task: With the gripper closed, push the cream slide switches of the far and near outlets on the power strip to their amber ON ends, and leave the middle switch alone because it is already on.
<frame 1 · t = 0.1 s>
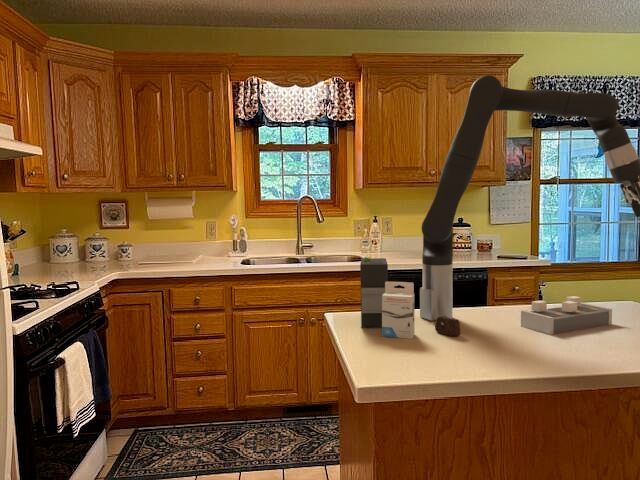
stone: (448, 335, 137), on the table
ink box: (398, 336, 136), on the table
switch 2: (569, 306, 142), point 6 cm above the table, slide at 4.5 cm
switch 3: (573, 301, 149), point 6 cm above the table, slide at 0.0 cm
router: (374, 322, 153), on the table
switch 1: (539, 306, 143), point 6 cm above the table, slide at 0.0 cm
power strip: (566, 325, 143), on the table
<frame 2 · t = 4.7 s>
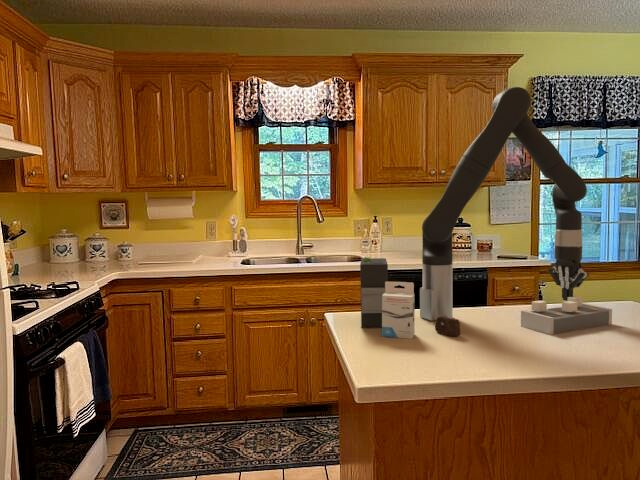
hand: (567, 300, 151), 6 cm above the table, tool pointing down, fingers closed
switch 3: (574, 301, 148), point 6 cm above the table, slide at 0.5 cm, touching gripper
everything else where it was.
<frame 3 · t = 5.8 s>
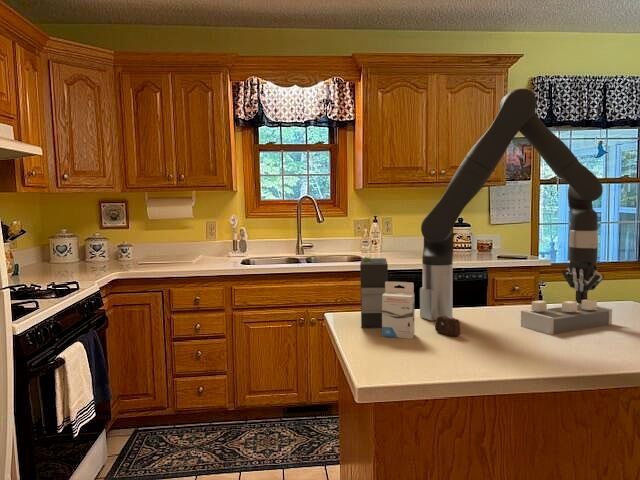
hand: (581, 303, 147), 6 cm above the table, tool pointing down, fingers closed
switch 3: (589, 304, 144), point 6 cm above the table, slide at 5.3 cm, touching gripper
everything else where it was.
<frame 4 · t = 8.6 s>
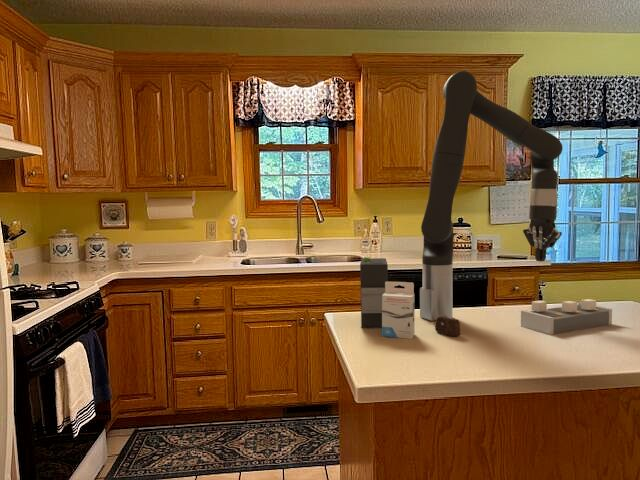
hand: (540, 261, 150), 18 cm above the table, tool pointing down, fingers closed
switch 3: (588, 304, 144), point 6 cm above the table, slide at 5.1 cm
everything else where it was.
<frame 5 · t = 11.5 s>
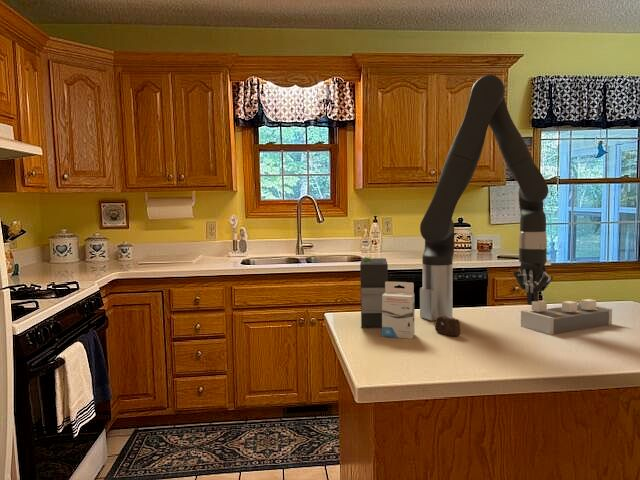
hand: (532, 304, 146), 6 cm above the table, tool pointing down, fingers closed
switch 1: (539, 306, 143), point 6 cm above the table, slide at 0.1 cm, touching gripper
everything else where it was.
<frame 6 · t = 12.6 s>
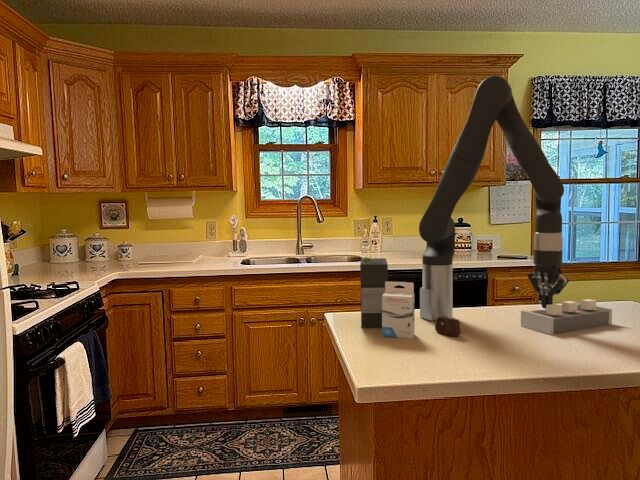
hand: (546, 308, 141), 6 cm above the table, tool pointing down, fingers closed
switch 1: (554, 309, 139), point 6 cm above the table, slide at 5.3 cm, touching gripper
everything else where it was.
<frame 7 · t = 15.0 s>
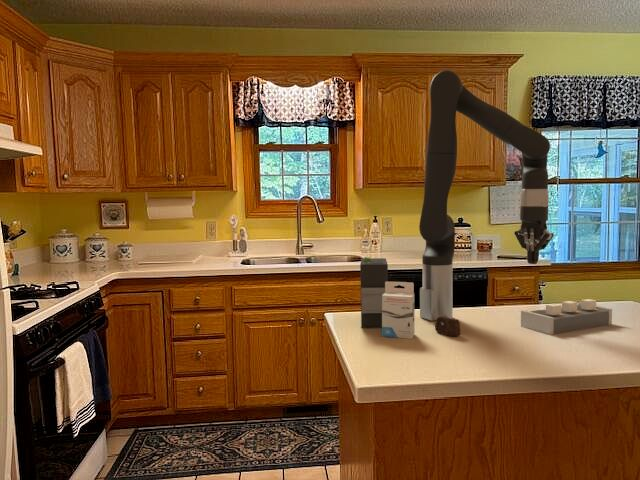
hand: (532, 263, 145), 18 cm above the table, tool pointing down, fingers closed
switch 1: (553, 309, 139), point 6 cm above the table, slide at 5.1 cm
everything else where it was.
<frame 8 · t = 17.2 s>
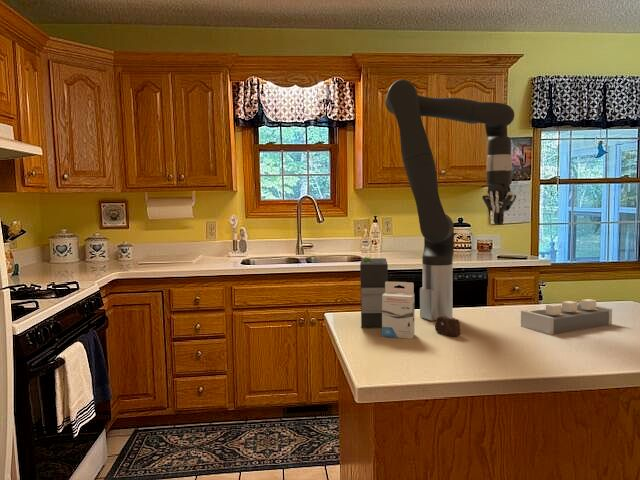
hand: (498, 224, 157), 29 cm above the table, tool pointing down, fingers closed
nothing on the table moved.
at the end: switch 1 slide at 5.1 cm; switch 3 slide at 5.1 cm; switch 2 slide at 4.5 cm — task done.
